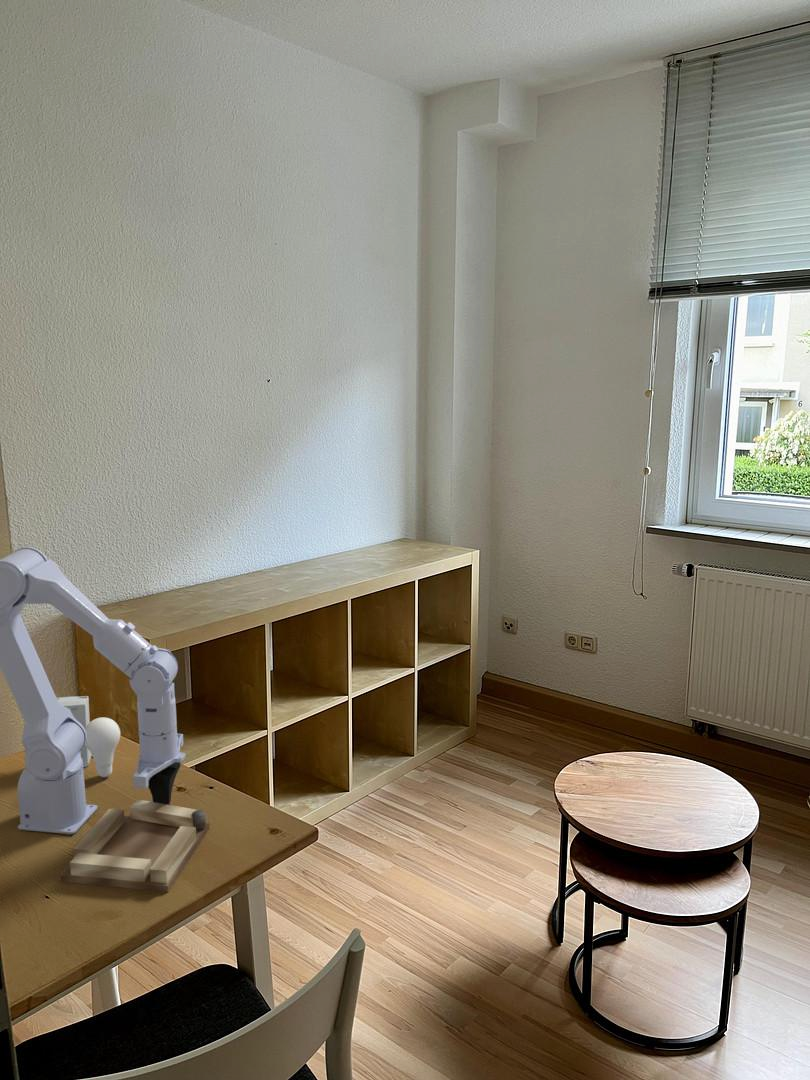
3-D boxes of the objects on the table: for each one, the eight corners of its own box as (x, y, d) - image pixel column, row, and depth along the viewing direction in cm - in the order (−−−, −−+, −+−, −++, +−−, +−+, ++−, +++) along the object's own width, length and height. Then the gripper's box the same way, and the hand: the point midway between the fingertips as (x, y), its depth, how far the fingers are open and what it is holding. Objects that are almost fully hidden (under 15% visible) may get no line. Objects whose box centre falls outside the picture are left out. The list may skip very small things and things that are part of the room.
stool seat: (60, 881, 120) (58, 862, 119) (113, 820, 136) (112, 803, 135) (168, 892, 118) (166, 873, 117) (209, 828, 134) (208, 811, 133)
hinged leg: (208, 823, 133) (208, 810, 132) (201, 831, 131) (200, 818, 130) (138, 810, 136) (138, 798, 136) (130, 818, 134) (129, 805, 133)
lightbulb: (111, 787, 146) (107, 728, 143) (79, 783, 147) (74, 724, 144) (129, 770, 152) (125, 713, 149) (98, 766, 153) (94, 710, 150)
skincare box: (53, 770, 151) (47, 707, 149) (58, 758, 156) (52, 697, 153) (89, 767, 153) (84, 704, 150) (93, 755, 157) (88, 694, 154)
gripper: (163, 751, 125) (167, 834, 128) (199, 710, 139) (202, 785, 142) (117, 747, 126) (123, 830, 129) (158, 707, 140) (162, 782, 143)
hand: (162, 806), depth 135 cm, fingers closed, pressing on hinged leg
